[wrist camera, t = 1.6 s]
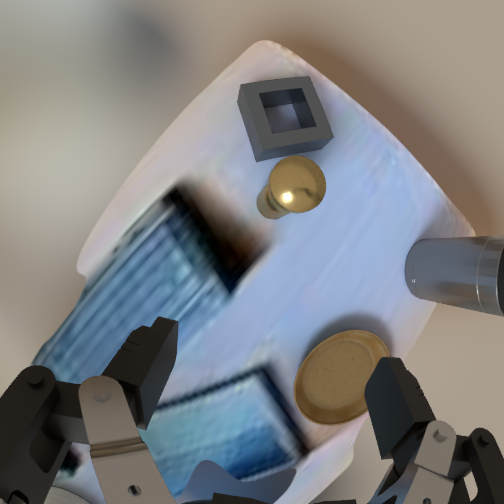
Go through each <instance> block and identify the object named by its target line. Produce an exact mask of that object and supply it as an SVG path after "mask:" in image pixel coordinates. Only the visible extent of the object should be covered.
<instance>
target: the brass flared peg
mask: <svg viewBox="0 0 504 504" xmlns="http://www.w3.org/2000/svg"><path fill="white" fill-rule="evenodd" d="M325 192H326V181H325V177H324V174H323V172H322V170H321V169H320V168H319V166H318V165H317V164H316V163H315V162H313V161H312V160H310V159H308V158H306V157H303V156H289V157H286V158H284V159H282V160H281V161H280V162H278V163H277V164H276V166H275V167H274V168H273V170H272V171H271V173H270V176H269V180H268V184H267V185H266V186H265V187H264V189H263V190H262V191H261V192H260V193H259V195H258V197H257V202H256V203H257V208H258V211H259V212H260V213H261V215H263V216H264V217H266V218H268V219H278V218H281V217H283V216H285V215H287V214H289V213H303V212H307V211H309V210H311V209H313V208H315V207H316V206H318V205H319V204H320V202H321V201H322V199H323V198H324V195H325Z"/></svg>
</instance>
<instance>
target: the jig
mask: <svg viewBox="0 0 504 504" xmlns="http://www.w3.org/2000/svg"><path fill="white" fill-rule="evenodd" d="M237 103H238V106H239V109H240V112H241V115H242V118H243V121H244V124H245V128H246V131H247V134H248V137H249V140H250V143H251V147H252V150H253V153H254V156H255V160H256V162H259V161H264V160H268V159H273V158H278V157H282V156H287V155H292V154H297V153H303V152H308V151H313V150H319V149H322V148H323V147H324V146H325V145H326V144H327V143H328V142H329V141H330V140H332V139H333V138H334V136H333V133H332V131H331V128H330V125H329V123H328V120H327V118H326V115H325V112H324V110H323V107H322V105H321V103H320V100H319V98H318V95H317V93H316V91H315V88H314V86H313V84H312V81H311V79H310V77H309V76H306V77H294V78H284V79H275V80H267V81H260V82H253V83H246V84H241V85H240V90H239V95H238V100H237ZM287 104H293V107H294V110H295V112H296V115H297V118H298V120H299V123H300V126H301V129H297V130H291V131H285V132H280V133H274V134H272V131H271V128H270V125H269V122H268V119H267V116H266V113H265V110H264V108H267V107H273V106H280V105H287Z"/></svg>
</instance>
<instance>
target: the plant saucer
mask: <svg viewBox="0 0 504 504" xmlns="http://www.w3.org/2000/svg"><path fill="white" fill-rule="evenodd" d="M382 357H390V353H389V350H388V348H387V346H386V344H385V343H384V342H383V340H382V339H381V338H380V337H378V336H377V335H375V334H374V333H371V332H369V331H365V330H347V331H343V332H340V333H337V334H335V335H332V336H330V337H329V338H327V339H325V340H324V341H322V342H321V343H320V344H318V345H317V346H316V347H315V348H314V349H313V350H312V351H311V352H310V353H309V354H308V356H307V357H306V358H305V360H304V361H303V363H302V364H301V366H300V368H299V370H298V372H297V375H296V378H295V382H294V400H295V403H296V406H297V408H298V410H299V411H300V413H301V414H302V415H303V416H304V417H305V418H306V419H308V420H310V421H312V422H314V423H316V424H320V425H327V426H334V425H340V424H344V423H347V422H350V421H352V420H355V419H357V418H358V417H360V416H362V415H363V414H364V413H366V412H367V411H368V408H367V404H366V401H365V397H364V391H365V386H366V384H367V382H368V380H369V378H370V376H371V375H372V373H373V371H374V369H375V367H376V366H377V364H378V362H379V360H380V359H381V358H382Z"/></svg>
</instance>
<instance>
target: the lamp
mask: <svg viewBox="0 0 504 504" xmlns="http://www.w3.org/2000/svg"><path fill="white" fill-rule="evenodd" d="M44 504H90V503H89V502H87V501H86V500H84V499H82V498H81V497H79V496H77V495H75V494H73V493H71V492H69V491H66V490H64V489H61V488H57V487H51V488H50V490H49V493H48V495H47V497H46V499H45V502H44Z"/></svg>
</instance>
